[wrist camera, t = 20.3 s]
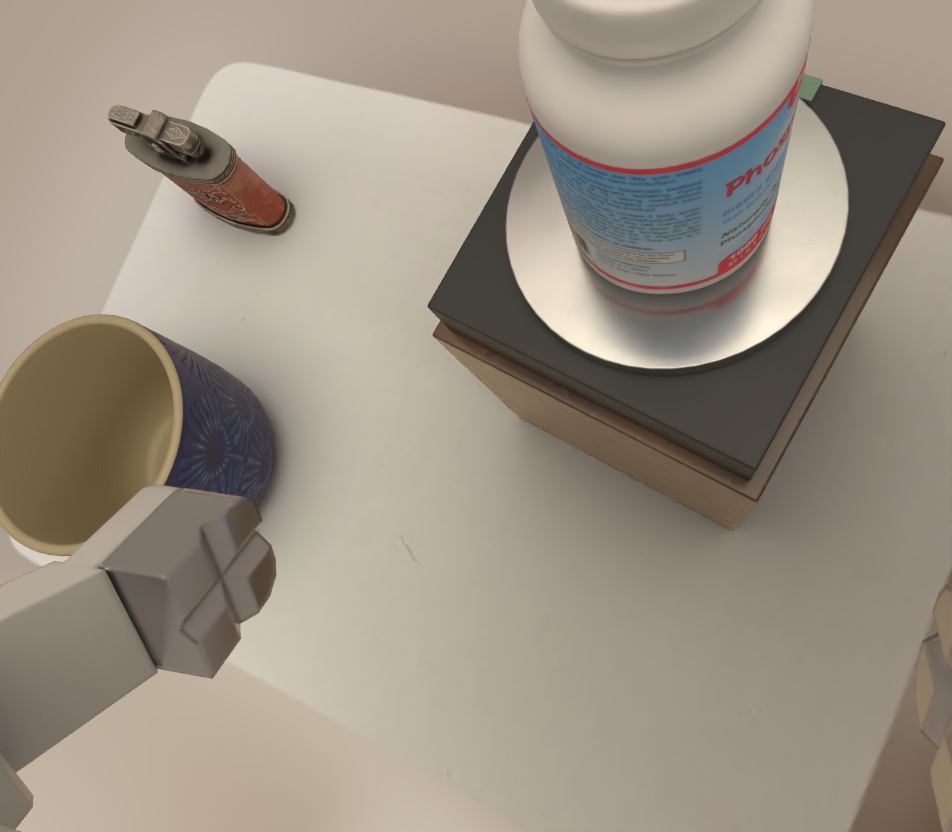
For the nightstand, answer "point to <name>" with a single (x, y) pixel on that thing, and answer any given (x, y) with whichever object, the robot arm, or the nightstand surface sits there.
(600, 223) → the pill bottle
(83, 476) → the planter
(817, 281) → the kitchen scale
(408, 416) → the nightstand surface
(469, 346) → the walnut riser
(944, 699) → the robot arm
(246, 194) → the lighter
